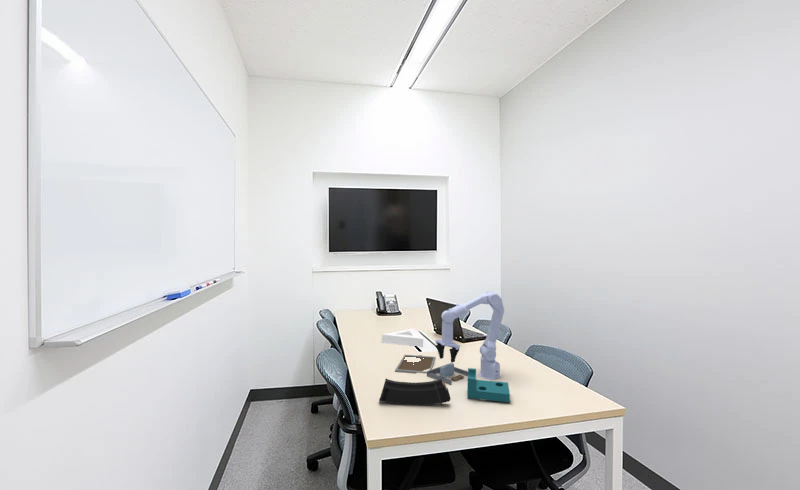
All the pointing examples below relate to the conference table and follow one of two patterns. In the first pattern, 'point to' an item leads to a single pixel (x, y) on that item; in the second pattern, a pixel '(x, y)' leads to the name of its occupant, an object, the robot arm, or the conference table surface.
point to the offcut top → (457, 378)
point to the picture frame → (416, 364)
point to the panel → (447, 370)
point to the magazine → (415, 393)
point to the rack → (433, 375)
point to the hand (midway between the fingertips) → (447, 360)
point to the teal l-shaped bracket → (486, 388)
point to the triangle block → (403, 338)
